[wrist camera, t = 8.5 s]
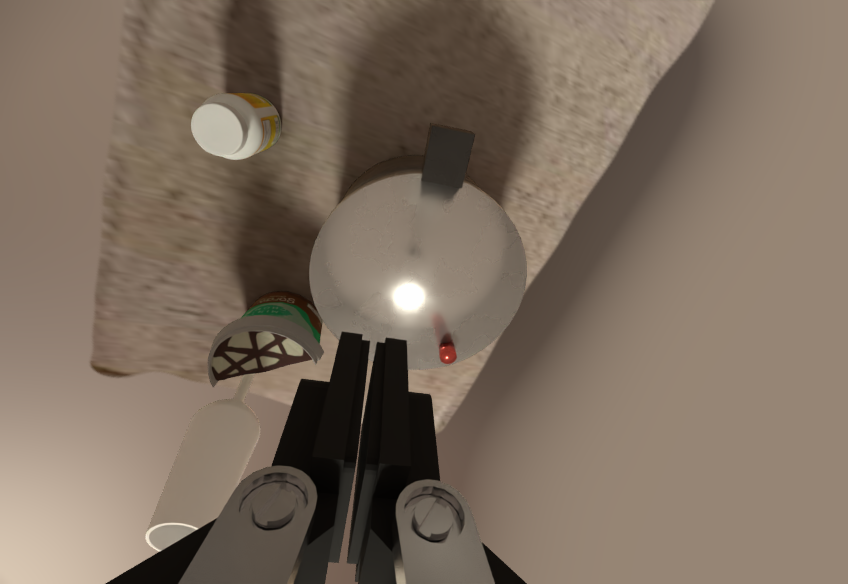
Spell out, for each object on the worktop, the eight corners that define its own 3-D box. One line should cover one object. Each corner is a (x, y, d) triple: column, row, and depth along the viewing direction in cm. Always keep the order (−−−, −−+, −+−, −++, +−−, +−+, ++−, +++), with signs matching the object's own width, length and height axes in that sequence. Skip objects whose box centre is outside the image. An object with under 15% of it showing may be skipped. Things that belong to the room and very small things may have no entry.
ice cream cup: (318, 271, 49) (299, 313, 40) (334, 315, 52) (320, 363, 43) (219, 295, 50) (179, 340, 41) (240, 337, 53) (208, 388, 44)
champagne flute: (225, 330, 51) (114, 521, 31) (279, 323, 52) (205, 509, 31) (242, 371, 55) (153, 567, 34) (293, 365, 55) (235, 557, 34)
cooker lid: (325, 100, 30) (319, 103, 28) (567, 151, 33) (578, 157, 31) (304, 348, 41) (299, 363, 39) (491, 373, 43) (495, 388, 41)
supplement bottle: (292, 136, 43) (265, 148, 34) (247, 158, 43) (210, 176, 35) (262, 82, 40) (224, 81, 32) (215, 107, 41) (166, 112, 32)
